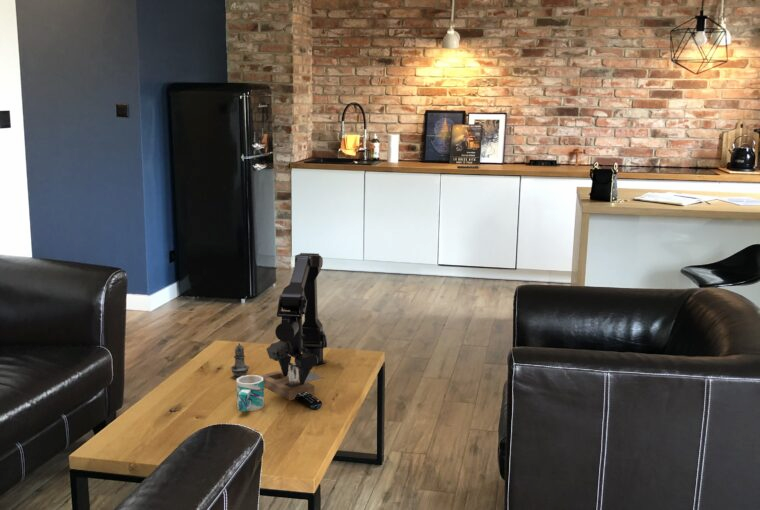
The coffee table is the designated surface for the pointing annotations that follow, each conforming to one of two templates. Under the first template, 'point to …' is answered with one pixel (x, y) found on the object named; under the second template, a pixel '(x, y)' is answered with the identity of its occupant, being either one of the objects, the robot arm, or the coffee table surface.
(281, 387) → the socket block
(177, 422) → the coffee table surface
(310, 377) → the mat
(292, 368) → the pin
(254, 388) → the mug
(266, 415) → the coffee table surface
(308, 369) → the robot arm
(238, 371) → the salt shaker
